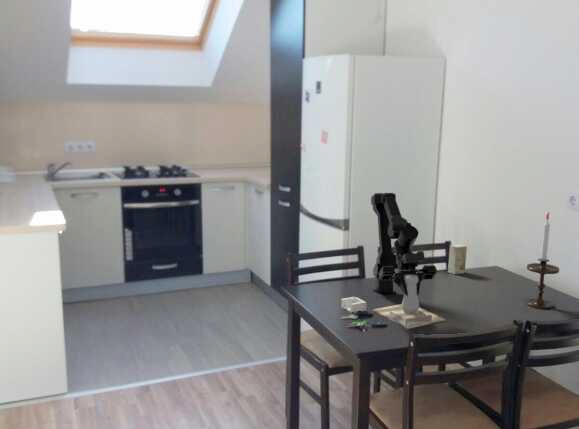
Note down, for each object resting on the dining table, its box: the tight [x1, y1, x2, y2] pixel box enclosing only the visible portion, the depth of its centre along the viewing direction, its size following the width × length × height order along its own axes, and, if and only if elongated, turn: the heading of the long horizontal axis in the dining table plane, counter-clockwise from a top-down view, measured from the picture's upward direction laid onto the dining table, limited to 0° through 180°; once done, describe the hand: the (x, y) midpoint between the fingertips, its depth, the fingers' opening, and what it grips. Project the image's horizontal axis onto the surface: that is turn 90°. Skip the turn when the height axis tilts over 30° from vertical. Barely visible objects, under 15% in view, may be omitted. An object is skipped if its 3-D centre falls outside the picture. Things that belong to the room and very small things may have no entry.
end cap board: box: [372, 303, 446, 329], centre depth 205 cm, size 19×16×3 cm
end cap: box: [340, 296, 367, 314], centre depth 212 cm, size 6×7×3 cm
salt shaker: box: [401, 275, 420, 315], centre depth 199 cm, size 6×6×13 cm
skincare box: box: [447, 243, 468, 275], centre depth 259 cm, size 6×4×12 cm
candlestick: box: [526, 211, 560, 310], centre depth 215 cm, size 11×11×35 cm
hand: (412, 295), depth 198 cm, fingers closed on salt shaker, 3 cm apart
